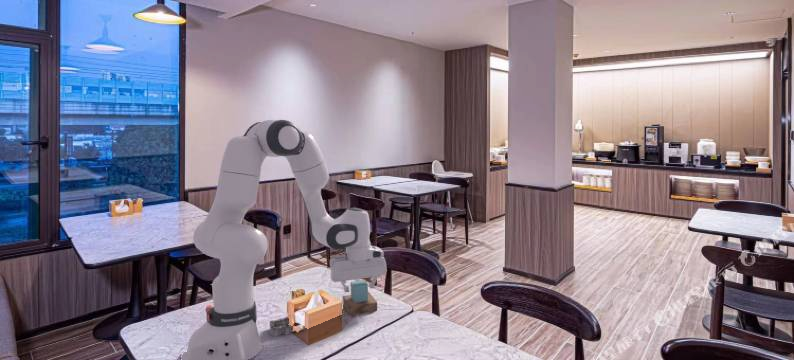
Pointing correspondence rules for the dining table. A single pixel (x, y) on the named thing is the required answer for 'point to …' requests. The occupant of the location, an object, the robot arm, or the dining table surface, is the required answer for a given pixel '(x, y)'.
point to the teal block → (359, 291)
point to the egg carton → (280, 326)
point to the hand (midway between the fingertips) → (359, 289)
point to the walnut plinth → (359, 305)
